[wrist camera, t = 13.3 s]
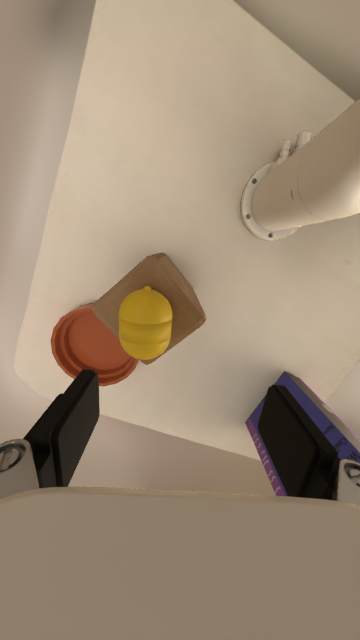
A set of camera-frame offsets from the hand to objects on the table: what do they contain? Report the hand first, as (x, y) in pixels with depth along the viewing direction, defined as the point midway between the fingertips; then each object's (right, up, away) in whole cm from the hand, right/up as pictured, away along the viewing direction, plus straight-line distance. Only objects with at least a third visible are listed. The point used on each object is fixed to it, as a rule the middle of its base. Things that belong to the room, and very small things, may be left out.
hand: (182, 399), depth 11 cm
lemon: (-4, +5, +12) cm, 13 cm away
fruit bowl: (-17, 0, +34) cm, 38 cm away
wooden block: (-4, +11, +31) cm, 33 cm away
